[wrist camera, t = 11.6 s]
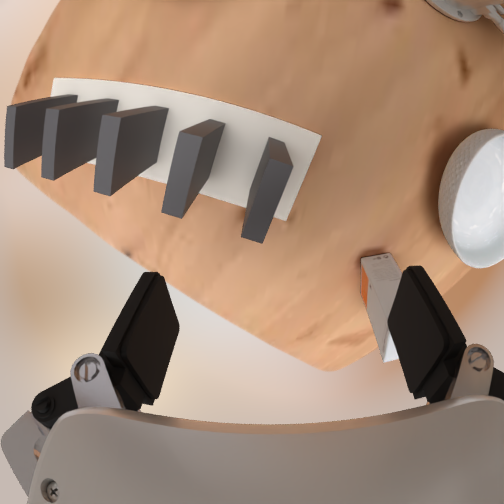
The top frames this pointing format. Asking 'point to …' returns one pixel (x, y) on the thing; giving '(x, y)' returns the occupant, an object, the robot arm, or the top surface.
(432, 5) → the robot arm
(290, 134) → the board
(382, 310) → the skincare box
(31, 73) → the top surface
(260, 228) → the domino
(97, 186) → the domino
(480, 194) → the cereal bowl
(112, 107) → the domino
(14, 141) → the domino
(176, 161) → the domino
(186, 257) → the top surface
